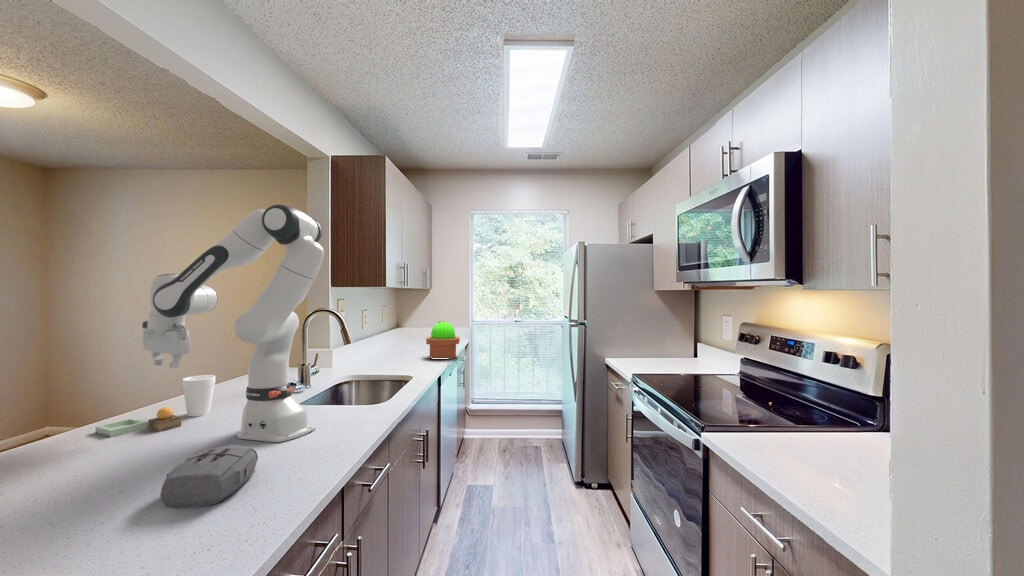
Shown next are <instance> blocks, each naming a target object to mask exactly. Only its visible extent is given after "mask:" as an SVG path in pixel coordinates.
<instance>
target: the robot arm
mask: <svg viewBox="0 0 1024 576" xmlns="http://www.w3.org/2000/svg"><path fill="white" fill-rule="evenodd" d="M322 234H323V230H322V227H321V225H320V223H319V222H318V221H317V220H316V219H315V218H313V217H311V216H309V215H308V214H306V213H305V212H303V211H301V210H300V209H296V208H295V207H291V206H290V205H286V204H273V205H270V206H268V207H267V208H266V209H263V208H258V209H255V210H253V211H252V212H250V213H249V214H248V215H246V216H245V217H244V218H242V219H241V220H240V221H239V222H238V223H237V224H236V225H235V226H234V227H233V228H232V229H231V231H229V232H228V234H226V235H225V236H224V237H223V238H222V239H221V240H220V241H218V242H217V243H216V244H214V245H213V246H211V247H210V248H209V249H207V250H206V251H204V252H203V253H202V254H201V255H200V256H198V257H197V258H196V259H195V260H193V262H191V264H189V265H188V266H187V267H186V268H185V269H184V270H182V272H181V273H163V274H158V275H157V276H155V277H154V278H153V280H152V281H151V285H150V290H149V292H150V293H149V303H150V312H149V315H148V318H147V319H146V320H144V321H142V323H141V328H142V330H143V331H142V346H143V349H144V350H145V351H147V352H151V357H152V359H153V366H162V365H163V358H162V354H168V355H171V358H172V359H171V362H169V368H170V369H178V368H180V367H179V366H180V362H181V359H182V357H183V355H188V354H189V353H190V351H191V337H190V336H191V335H190V332H189V331H188V330H187V328H186V316H192V315H193V316H194V315H203V314H207V313H209V312H211V311H213V310H214V309H215V308H216V307H217V303H218V300H219V299H218V294H217V292H216V290H215V289H214V288H212V287H211V286H209V285H205V284H206V283H207V282H208V281H209V280H210V279H212V277H213V276H214V275H216V274H218V273H219V272H222V271H224V270H228V269H231V268H235V267H242V266H247V265H250V264H253V262H255V261H256V260H258V259H259V258H260V257H261V256H262V255H264V253H265V252H266V250H268V248H269V247H270V246H271V245H272V243H275V241H277V242H278V244H280V245H285V248H286V249H285V250H286V251H285V254H284V256H283V258H282V260H281V262H280V263H279V265H278V267H277V269H276V271H275V273H274V274H273V276H272V278H271V280H270V282H269V283H268V284H267V286H266V288H265V289H264V290H263V292H261V294H260V295H259V296H258V297H257V299H256V300H255V301H254V302H253V304H252V305H250V307H249V308H248V309H247V310H246V311H245V312H244V313H242V314H240V315H239V316H238V318H236V320H235V323H234V329H233V330H234V333H235V335H236V337H237V338H238V340H239V341H242V342H244V343H246V344H252V345H255V349H254V351H253V354H252V356H251V357H250V358H249V361H248V371H247V373H248V377H247V387H246V390H245V396H246V400H247V401H246V404H245V406H243V409H242V417H241V424H240V431H239V432H238V433H237V434H236V439H240V440H249V441H250V440H251V441H261V442H269V443H270V442H271V443H281V442H286V441H289V440H294V439H296V438H300V437H302V436H305V435H307V434H310V433H311V431H312V432H313V431H315V430H316V429H315V428H317V425H315V424H313V423H310V422H308V414H307V410H306V408H305V406H302V405H301V404H300V403H299V402H298V401H297V400H296V398H295V397H294V396H293V392H294V391H295V390H294V389H295V387H293V386H292V387H291V384H290V382H289V364H290V356H291V355H290V354H291V351H292V346H293V342H294V337H295V335H296V334H295V333H296V331H297V330H298V328H299V326H300V319H299V316H298V314H297V313H296V312H294V311H295V310H296V308H298V306H299V305H300V304H301V303H302V302H303V301H304V300H305V298H306V297H307V295H308V293H309V291H310V289H311V287H312V285H313V284H314V282H315V279H316V277H317V275H318V274H319V271H320V269H321V267H322V263H323V261H324V256H325V250H324V248H323V247H322V245H321V244H320V243H319V242H320V240H321V238H322ZM314 429H315V430H314ZM309 432H310V433H309Z"/></svg>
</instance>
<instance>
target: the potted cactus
mask: <svg viewBox="0 0 1024 576" xmlns="http://www.w3.org/2000/svg"><path fill="white" fill-rule="evenodd" d="M425 343H426V345H429V358H430V357H432V358H452V359H451V360H453V359H456V357H457V345H458V344H460V337H459V336H456V332H455V328H454V327H453V325H452V324H451V323H449V322H448V321H447V322H446V321H438V323H436V324H434V325H433V327H432V329H431V333H430V336H428V337H426V340H425Z"/></svg>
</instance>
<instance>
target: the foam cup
mask: <svg viewBox="0 0 1024 576" xmlns="http://www.w3.org/2000/svg"><path fill="white" fill-rule="evenodd" d="M181 383H182V385H181V386H182V387H183V394H184V401H185V408H186V414H187V417H189V416H196V417H202V416H201V415H203V416H206V415H208V413H209V414H210V413H211V412H210V411H211V407H212V400H213V396H214V390H215V389H214V388H215V384H216V375H213V374H205V375H204V374H202V375H193V376H188V377H184V378H182V382H181ZM205 414H206V415H205Z"/></svg>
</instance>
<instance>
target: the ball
mask: <svg viewBox="0 0 1024 576" xmlns="http://www.w3.org/2000/svg"><path fill="white" fill-rule="evenodd" d="M172 415H174V409H172V408H171V407H167V406H165V407H162V408H160V409H159V410H158V411H157V412H156V418H158V419H160V420H165V419H169V418H170V417H171V416H172Z"/></svg>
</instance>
